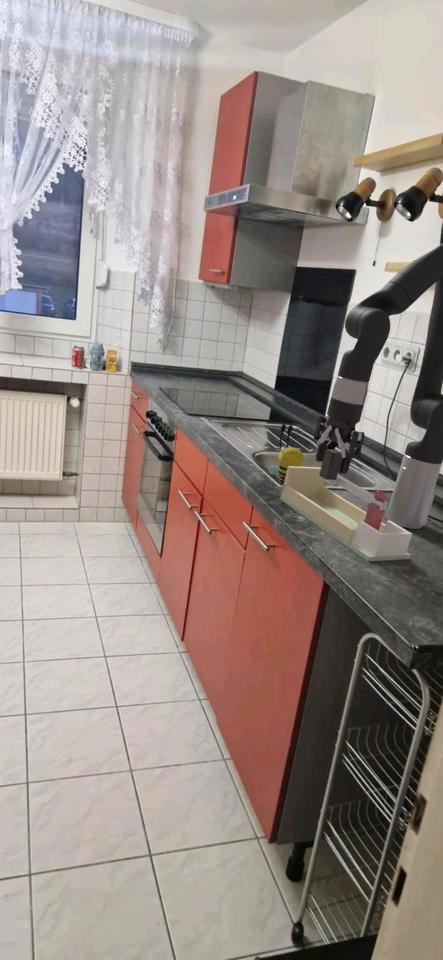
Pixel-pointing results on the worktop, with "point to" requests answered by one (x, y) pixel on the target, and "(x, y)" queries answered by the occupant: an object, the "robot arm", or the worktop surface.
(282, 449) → the toy
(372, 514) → the grey red jointed piece
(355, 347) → the robot arm
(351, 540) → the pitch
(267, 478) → the worktop surface
